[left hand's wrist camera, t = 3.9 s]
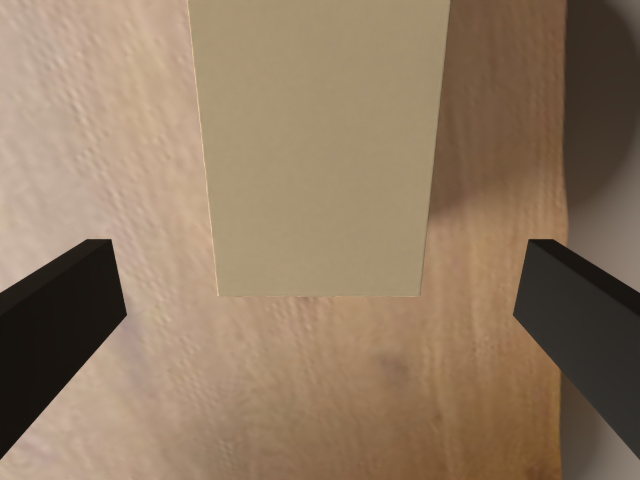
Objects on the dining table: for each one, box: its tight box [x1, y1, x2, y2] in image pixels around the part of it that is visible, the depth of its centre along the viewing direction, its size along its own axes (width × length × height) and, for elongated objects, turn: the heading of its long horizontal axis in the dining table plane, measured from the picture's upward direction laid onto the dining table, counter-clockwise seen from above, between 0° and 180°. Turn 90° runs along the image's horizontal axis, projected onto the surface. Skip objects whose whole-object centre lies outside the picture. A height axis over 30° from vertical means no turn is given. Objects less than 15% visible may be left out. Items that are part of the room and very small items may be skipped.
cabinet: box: [187, 0, 451, 297], centre depth 21 cm, size 21×10×10 cm, turn 0°
